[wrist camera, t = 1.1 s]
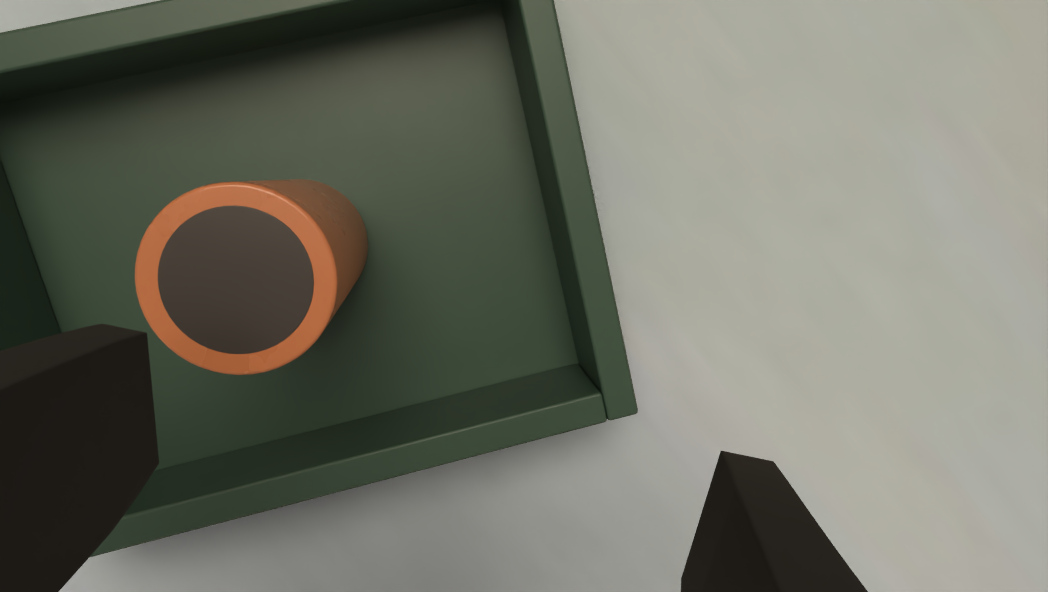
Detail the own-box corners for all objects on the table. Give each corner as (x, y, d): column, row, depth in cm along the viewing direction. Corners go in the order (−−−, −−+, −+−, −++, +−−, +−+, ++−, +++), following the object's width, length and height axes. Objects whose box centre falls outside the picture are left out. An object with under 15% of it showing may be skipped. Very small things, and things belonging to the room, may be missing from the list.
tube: (257, 320, 20) (167, 397, 13) (219, 195, 19) (104, 206, 13) (382, 290, 20) (359, 350, 13) (349, 166, 20) (307, 161, 13)
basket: (102, 505, 21) (36, 572, 17) (-48, 84, 19) (-157, 63, 15) (605, 376, 22) (639, 414, 19) (519, -33, 20) (538, -78, 16)
